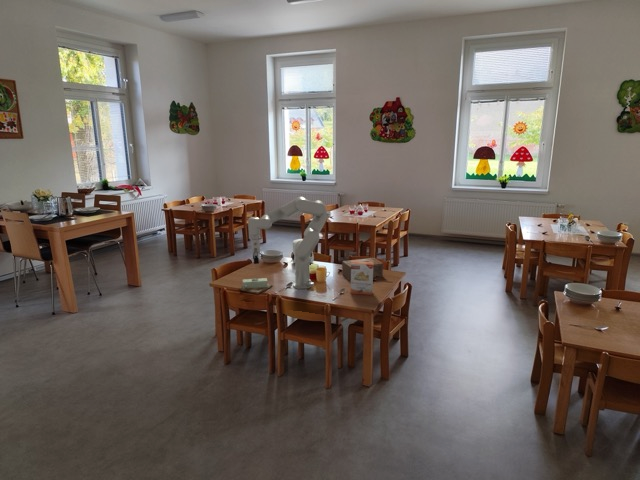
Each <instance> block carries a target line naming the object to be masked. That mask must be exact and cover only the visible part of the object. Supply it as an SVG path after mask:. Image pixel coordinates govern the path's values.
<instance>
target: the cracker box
mask: <svg viewBox="0 0 640 480" xmlns="http://www.w3.org/2000/svg"><path fill="white" fill-rule="evenodd" d="M373 264H374V262H361V261H352V263H351V280H350V291H349V293H350V294H352V295H353V294H354V295H363V296H364V295H366V296H372V295H373V285H374V283H373V282H374V277H373Z"/></svg>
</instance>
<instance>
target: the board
mask: <svg viewBox="0 0 640 480" xmlns="http://www.w3.org/2000/svg"><path fill="white" fill-rule="evenodd" d="M253 281H257V280H253ZM272 287H273V284H271V283H267V287H261V288H247V289H243V285H242V286H240V287H238V291H243V292H246V293H251V294H256V295H259V294H261V293H264V292H265V291H267V290H269V289H271V288H272Z"/></svg>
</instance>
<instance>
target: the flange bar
mask: <svg viewBox="0 0 640 480" xmlns="http://www.w3.org/2000/svg"><path fill="white" fill-rule="evenodd" d="M253 280H257V281H253ZM245 284H247V288H261V287H267V284H268V278H267V277H264V278H263V277H262V278H248V279H245V278H244V279H242V286H243V289H245Z"/></svg>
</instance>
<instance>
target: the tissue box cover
mask: <svg viewBox="0 0 640 480" xmlns="http://www.w3.org/2000/svg"><path fill="white" fill-rule="evenodd" d="M352 261H361V262H374V264H373V278H377V277H376V276H380V277H383V275H384V272H383V271H384V263H383V262H382V261H380V260H379V259H377V258H375V257H369V258H361V259H360V258H359V259H351V260H342V263H341V266H342V267H341V275H343V276H344V277H345V278H346V279H348V280H349V281H351V263H352Z"/></svg>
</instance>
